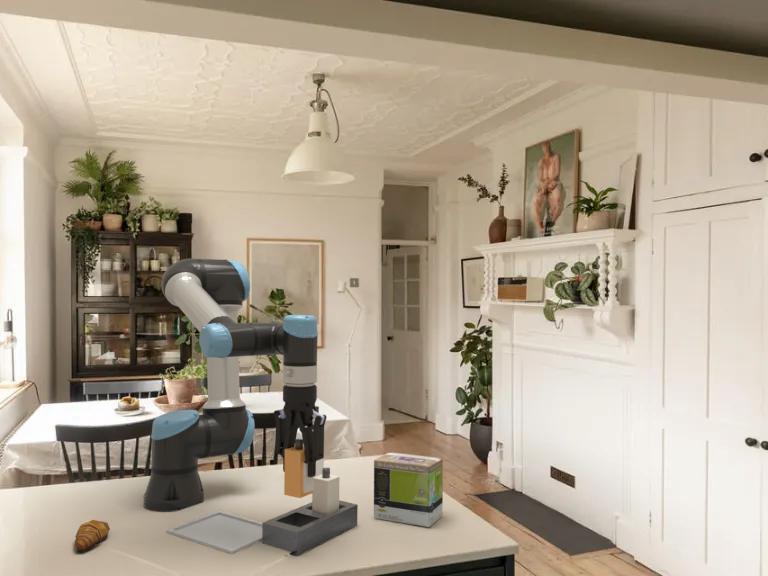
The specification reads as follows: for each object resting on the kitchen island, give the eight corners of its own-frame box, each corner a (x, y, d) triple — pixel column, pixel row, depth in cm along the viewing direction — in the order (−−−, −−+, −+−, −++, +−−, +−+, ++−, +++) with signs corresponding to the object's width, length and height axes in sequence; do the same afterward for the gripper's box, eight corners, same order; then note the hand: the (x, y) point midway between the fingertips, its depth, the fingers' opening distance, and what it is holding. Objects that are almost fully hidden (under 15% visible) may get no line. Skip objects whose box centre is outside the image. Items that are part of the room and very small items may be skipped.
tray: (166, 535, 146) (166, 529, 146) (219, 515, 160) (219, 510, 160) (231, 556, 135) (231, 551, 135) (283, 533, 148) (283, 528, 148)
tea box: (443, 516, 162) (444, 457, 162) (429, 529, 152) (429, 466, 153) (388, 506, 168) (389, 450, 168) (372, 518, 159) (373, 458, 159)
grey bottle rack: (262, 545, 141) (262, 522, 141) (324, 517, 159) (324, 496, 159) (296, 556, 135) (297, 532, 136) (357, 525, 154) (357, 504, 154)
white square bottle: (311, 520, 151) (312, 469, 151) (323, 515, 155) (324, 465, 155) (327, 524, 149) (327, 472, 149) (338, 518, 152) (339, 468, 152)
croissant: (89, 531, 148) (89, 509, 148) (119, 531, 148) (119, 509, 148) (62, 555, 135) (63, 531, 135) (95, 555, 135) (95, 531, 135)
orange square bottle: (284, 494, 142) (284, 440, 142) (297, 489, 146) (298, 436, 146) (299, 498, 140) (300, 442, 140) (313, 493, 144) (313, 439, 144)
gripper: (259, 383, 145) (258, 486, 145) (320, 389, 136) (319, 500, 135) (281, 379, 151) (280, 479, 151) (341, 385, 142) (340, 491, 141)
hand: (299, 489), depth 143 cm, fingers closed on orange square bottle, 4 cm apart
